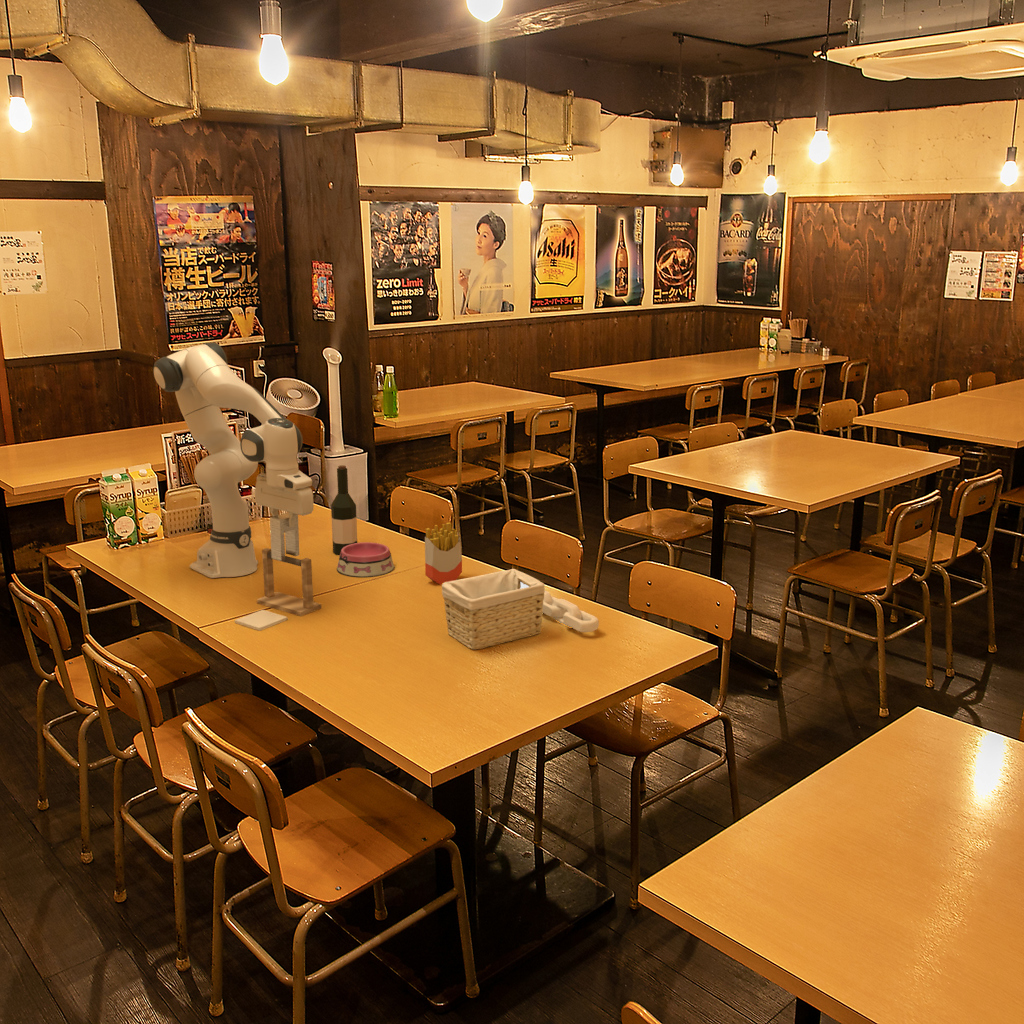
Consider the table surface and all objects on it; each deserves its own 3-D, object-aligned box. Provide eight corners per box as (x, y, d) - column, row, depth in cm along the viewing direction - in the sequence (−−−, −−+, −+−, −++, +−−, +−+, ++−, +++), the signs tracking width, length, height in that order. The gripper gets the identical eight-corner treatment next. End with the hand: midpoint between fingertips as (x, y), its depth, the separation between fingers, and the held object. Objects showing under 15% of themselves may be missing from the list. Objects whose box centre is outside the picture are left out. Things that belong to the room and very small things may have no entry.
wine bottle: (327, 552, 329) (324, 466, 321) (347, 547, 334) (344, 462, 327) (343, 557, 323) (339, 469, 315) (362, 552, 329) (359, 466, 321)
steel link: (271, 558, 274) (269, 517, 270) (289, 552, 279) (288, 512, 276) (281, 561, 271) (279, 519, 268) (299, 555, 277) (298, 514, 274)
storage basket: (469, 654, 246) (469, 599, 243) (439, 633, 260) (438, 581, 256) (547, 635, 259) (548, 583, 255) (514, 616, 272) (515, 566, 268)
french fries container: (462, 579, 302) (462, 524, 297) (433, 586, 296) (432, 530, 291) (454, 576, 305) (454, 521, 301) (425, 582, 299) (424, 526, 294)
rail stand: (257, 603, 280) (253, 552, 276) (278, 595, 287) (275, 545, 283) (300, 616, 271) (297, 563, 267) (321, 608, 277) (319, 556, 273)
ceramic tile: (234, 622, 266) (234, 620, 265) (262, 612, 273) (262, 609, 273) (259, 630, 260) (259, 628, 260) (287, 619, 268) (287, 617, 268)
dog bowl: (404, 571, 310) (404, 551, 308) (351, 581, 300) (350, 561, 298) (378, 557, 325) (378, 537, 323) (327, 566, 315) (326, 546, 313)
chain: (519, 606, 280) (519, 586, 278) (536, 602, 283) (536, 582, 282) (583, 640, 256) (584, 618, 254) (601, 635, 259) (602, 613, 258)
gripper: (248, 473, 272) (250, 520, 276) (299, 484, 261) (301, 533, 265) (265, 469, 277) (267, 516, 281) (316, 480, 266) (317, 528, 270)
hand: (284, 524), depth 273 cm, fingers closed on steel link, 4 cm apart
